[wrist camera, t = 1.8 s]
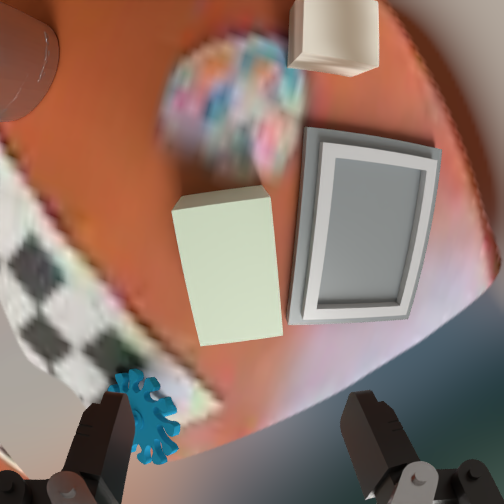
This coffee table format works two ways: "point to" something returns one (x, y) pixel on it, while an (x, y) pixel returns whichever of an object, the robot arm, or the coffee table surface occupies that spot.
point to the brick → (230, 264)
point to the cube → (334, 36)
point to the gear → (148, 417)
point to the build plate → (360, 227)
